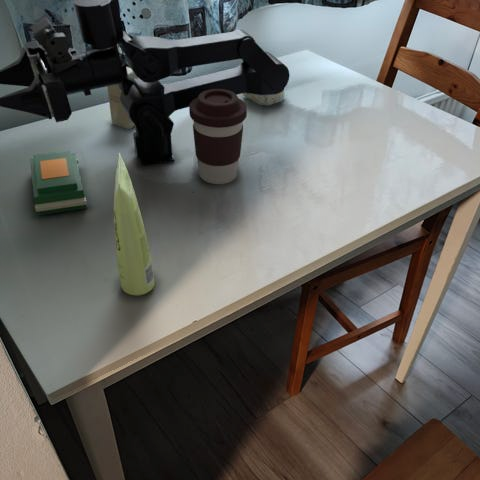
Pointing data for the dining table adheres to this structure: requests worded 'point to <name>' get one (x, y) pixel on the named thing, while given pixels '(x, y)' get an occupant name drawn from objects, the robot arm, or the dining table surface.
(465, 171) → the dining table surface
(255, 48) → the robot arm
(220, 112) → the coffee cup
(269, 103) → the decorative item
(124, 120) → the box
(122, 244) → the tube
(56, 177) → the stack of green books
